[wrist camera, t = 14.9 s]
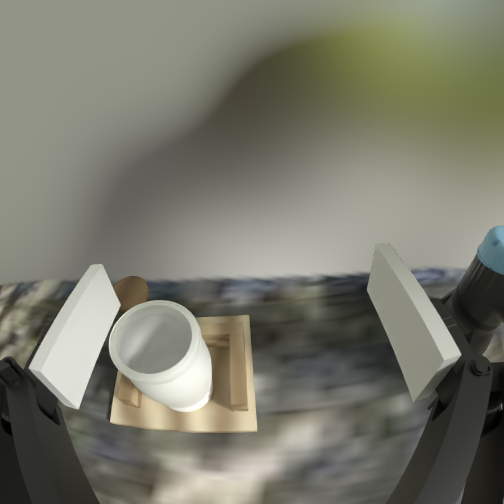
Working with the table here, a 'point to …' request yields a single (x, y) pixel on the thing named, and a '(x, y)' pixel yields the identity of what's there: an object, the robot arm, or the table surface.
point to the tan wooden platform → (223, 376)
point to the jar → (163, 354)
